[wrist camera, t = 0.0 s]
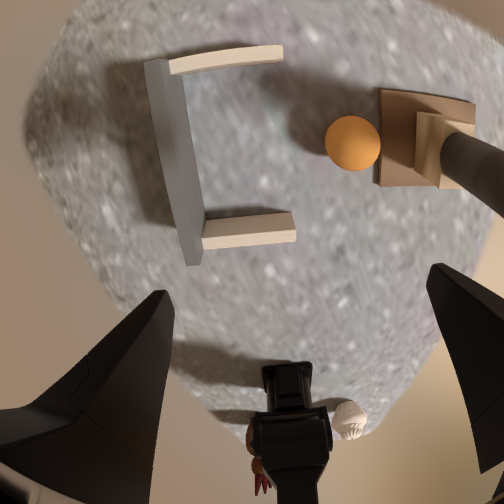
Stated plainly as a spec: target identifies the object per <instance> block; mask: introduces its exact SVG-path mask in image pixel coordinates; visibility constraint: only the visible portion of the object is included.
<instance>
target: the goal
mask: <svg viewBox="0 0 504 504" xmlns="http://www.w3.org/2000/svg"><path fill="white" fill-rule="evenodd" d="M283 59H284V57H283V48H282V45H267V46H254V47H244V48H235V49H227V50H220V51H214V52H207V53H202V54H196V55H191V56H186V57H181V58H177V59H172V60H165V59H161V58H158V59H154V60H150V61H146V62H143V66H144V73H145V80H146V86H147V92H148V98H149V104H150V110H151V115H152V121H153V126H154V132H155V137H156V142H157V147H158V152H159V156H160V161H161V166H162V170H163V175H164V179H165V184H166V188H167V192H168V197H169V201H170V205H171V209H172V213H173V217H174V221H175V225H176V229H177V233H178V237H179V241H180V244H181V248H182V252H183V255H184V259H185V263H186V266H194V265H200V263H201V259H202V255H203V251H204V250H206V249H217V248H228V247H239V246H250V245H261V244H272V243H283V242H295V241H296V228H295V224H294V220H293V217H292V213H291V212H286V213H275V214H264V215H253V216H243V217H233V218H223V219H214V220H207V219H206V214H205V209H204V204H203V199H202V193H201V188H200V183H199V177H198V172H197V166H196V161H195V155H194V149H193V144H192V138H191V132H190V126H189V120H188V114H187V107H186V101H185V94H184V88H183V81H182V75H186V74H191V73H197V72H202V71H208V70H215V69H221V68H229V67H236V66H245V65H255V64H268V63H280V62H281V61H282V60H283Z"/></svg>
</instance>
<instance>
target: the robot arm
mask: <svg viewBox="0 0 504 504" xmlns="http://www.w3.org/2000/svg"><path fill="white" fill-rule="evenodd" d="M426 288H427V292H428V295H429V298H430V301H431V304H432V307H433V310H434V313H435V316H436V320H437V323H438V326H439V328H440V331H441V333H442V336H443V338H444V341H445V343H446V346H447V349H448V352H449V354H450V357H451V360H452V363H453V365H454V368H455V371H456V374H457V378H458V381H459V384H460V387H461V390H462V394H463V396H464V400H465V404H466V408H467V411H468V415H469V419H470V423H471V428H472V432H473V437H474V441H475V446H476V451H477V456H478V462H479V469H480V473H481V474H482V473H484V472H486V471H488V470H489V469H491V468H493V467H494V466H496V465H498V464H499V463H501V462H503V461H504V299H503V298H502V297H500V296H498V295H497V294H495V293H494V292H492V291H490V290H489V289H487V288H485V287H484V286H482V285H480V284H479V283H477V282H475V281H474V280H472V279H470V278H469V277H467V276H465V275H463V274H462V273H460V272H458V271H456V270H454V269H453V268H451V267H449V266H447V265H445V264H444V263H437V264H433V265H432V266H431V268H430V272H429V275H428V279H427V282H426ZM174 316H175V311H174V307H173V304H172V301H171V299H170V296H169V293H168V292H167V291H166V290H155V291H153V292H152V293H151V294H150V295H149V296H148V297H147V298H146V299H145V300H144V301H142V302H141V303H140V304H139V305H138V306H137V307H136V308H135V309H134V310H133V311H132V312H131V313H129V314H128V315H127V316H126V317H125V318H124V319H123V320H122V321H121V322H120V323H119V324H118V325H117V326H116V327H115V328H113V329H112V330H111V331H110V332H109V333H108V334H107V335H106V336H105V337H104V338H103V339H102V340H101V341H100V342H99V343H98V344H97V345H96V346H95V347H94V348H92V349H91V351H89V353H88V354H87V355H85V356H84V357H83V358H82V359H81V360H80V361H79V362H78V363H77V364H76V365H75V366H74V367H73V368H72V369H71V370H70V371H68V372H67V373H66V374H65V375H64V376H63V377H62V378H60V379H59V380H58V381H57V382H56V383H54V384H53V385H52V386H51V387H50V388H49V389H47V390H46V391H45V392H44V393H43V394H42V395H40V396H39V397H38V398H37V399H36V400H34V401H33V402H32V403H30V404H28V405H26V406H23V407H20V408H13V409H3V410H0V504H149V497H150V487H151V478H152V470H153V467H152V466H153V461H154V454H155V446H156V440H157V433H158V426H159V420H160V414H161V408H162V402H163V396H164V390H165V385H166V379H167V374H168V369H169V363H170V358H171V351H172V339H173V327H174ZM312 368H313V366H312V363H302V364H292V365H281V366H269V367H263V368H262V376H263V383H264V389H265V393H267V412H255V417H253V418H251V435H250V442H249V447H250V448H251V449H253V450H254V453H255V456H256V458H261V466H262V469H263V472H264V475H265V476H266V478H267V479H268V480H269V481H270V483H271V484H272V485H273V487H274V488H275V489H276V490H277V503H278V504H318V493H317V483H318V481H319V479H320V477H321V475H322V474H323V472H324V470H325V467H326V465H327V463H328V460H329V452H331V451H332V448H333V438H332V430H331V426H330V422H329V417H328V413H327V409H326V406H321V407H316V408H313V405H312V398H311V391H310V388H311V379H312ZM485 504H504V471H503V474H502V476H501V479H500V481H499V484H498V486H497V488H496V491H495V493H494V495H493V497H492V500H490V501H489V502H487V503H485Z"/></svg>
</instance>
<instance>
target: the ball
mask: <svg viewBox="0 0 504 504" xmlns="http://www.w3.org/2000/svg"><path fill="white" fill-rule="evenodd" d="M380 146H381V144H380V138H379V135H378V132H377V131H376V129H375V128H374V126H373V125H372V124H371V123H370V122H368V121H367V120H365V119H363V118H361V117H357V116H344V117H341V118H339V119H337V120H336V121H334V122H333V123H332V124H331V125H330V127H329V128H328V130H327V132H326V136H325V147H326V151H327V153H328V155H329V157H330V158H331V160H332V161H333V162H334V163H335V164H336V165H338V166H339V167H341V168H343V169H345V170H349V171H360V170H364V169H366V168H368V167H369V166H371V165H372V164H373V163H374V162H375V161H376V159H377V157H378V155H379V153H380Z"/></svg>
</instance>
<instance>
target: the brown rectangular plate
mask: <svg viewBox="0 0 504 504" xmlns="http://www.w3.org/2000/svg"><path fill="white" fill-rule="evenodd" d="M379 99H380V144H381V146H380V153H379V176H378V185H379V186H380V187H386V186H435V185H434V184H432V183H431V182H430V181H428V180H427V179H425V178H424V177H423V176H421V175H420V174H418V173H417V172H415V171H414V164H415V149H416V127H417V112H425V113H433V114H440V115H446V116H449V117H453V118H456V119H459V120H462V121H465V122H467V123H470V124H473V125H475V110H476V104H472V103H468V102H463V101H458V100H454V99H448V98H443V97H437V96H431V95H425V94H418V93H410V92H402V91H393V90H382V89H379ZM474 131H475V130H474Z"/></svg>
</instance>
